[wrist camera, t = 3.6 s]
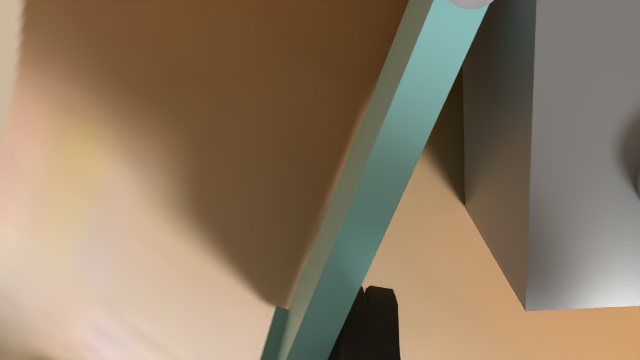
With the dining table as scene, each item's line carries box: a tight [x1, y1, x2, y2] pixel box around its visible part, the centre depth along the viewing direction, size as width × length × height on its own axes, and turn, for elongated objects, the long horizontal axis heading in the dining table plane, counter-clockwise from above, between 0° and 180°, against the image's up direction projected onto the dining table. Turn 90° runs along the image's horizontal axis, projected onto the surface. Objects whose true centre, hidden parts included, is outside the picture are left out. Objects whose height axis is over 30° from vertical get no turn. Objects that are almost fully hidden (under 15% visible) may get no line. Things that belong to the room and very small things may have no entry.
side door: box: [260, 0, 493, 360], centre depth 10 cm, size 12×1×4 cm, turn 161°
